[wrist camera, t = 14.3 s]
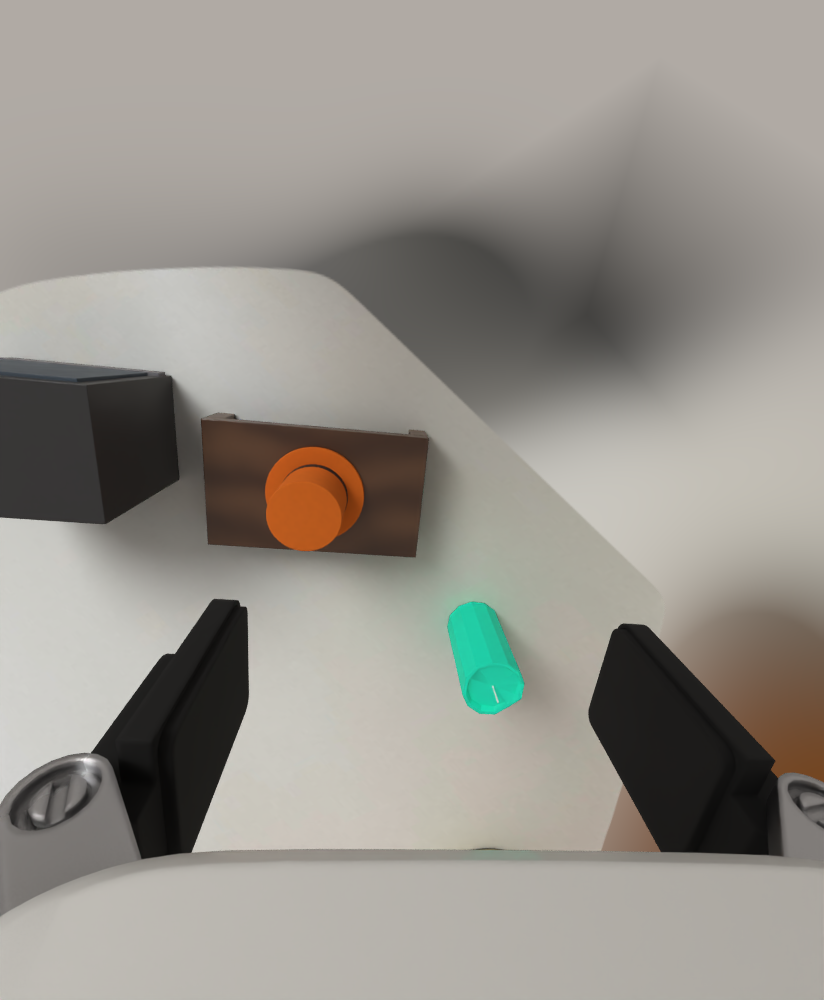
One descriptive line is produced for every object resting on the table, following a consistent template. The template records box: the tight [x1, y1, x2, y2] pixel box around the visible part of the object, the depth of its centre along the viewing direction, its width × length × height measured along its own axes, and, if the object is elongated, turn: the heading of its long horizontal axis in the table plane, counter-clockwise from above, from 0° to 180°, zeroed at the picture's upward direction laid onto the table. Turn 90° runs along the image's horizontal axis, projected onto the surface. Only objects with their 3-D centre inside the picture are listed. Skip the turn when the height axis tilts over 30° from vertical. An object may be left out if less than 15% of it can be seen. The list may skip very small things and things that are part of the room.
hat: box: [265, 447, 364, 551], centre depth 37 cm, size 9×9×6 cm
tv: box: [0, 358, 179, 524], centre depth 35 cm, size 10×14×12 cm
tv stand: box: [201, 413, 429, 557], centre depth 42 cm, size 12×20×4 cm, turn 84°
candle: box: [447, 602, 524, 714], centre depth 45 cm, size 6×6×12 cm
